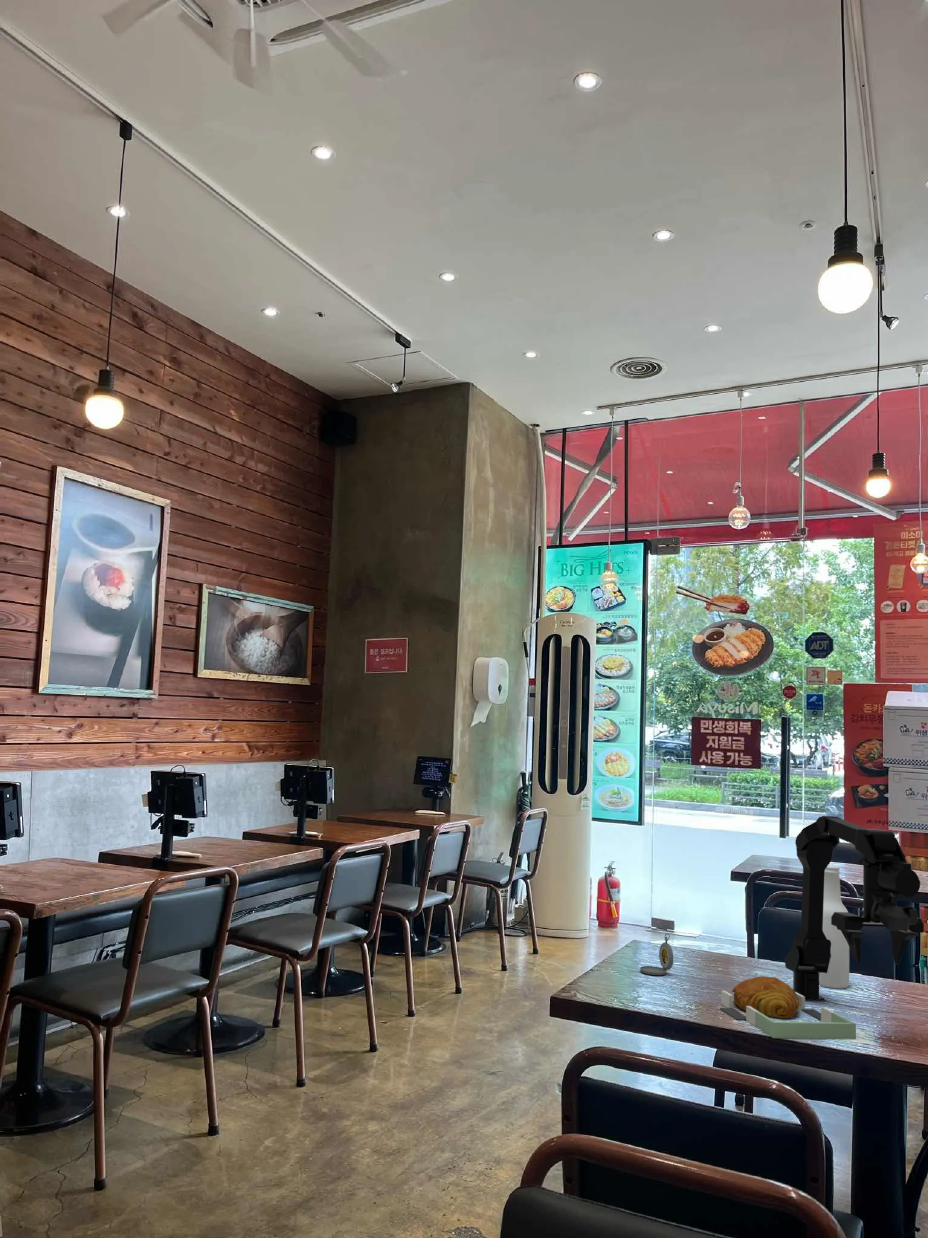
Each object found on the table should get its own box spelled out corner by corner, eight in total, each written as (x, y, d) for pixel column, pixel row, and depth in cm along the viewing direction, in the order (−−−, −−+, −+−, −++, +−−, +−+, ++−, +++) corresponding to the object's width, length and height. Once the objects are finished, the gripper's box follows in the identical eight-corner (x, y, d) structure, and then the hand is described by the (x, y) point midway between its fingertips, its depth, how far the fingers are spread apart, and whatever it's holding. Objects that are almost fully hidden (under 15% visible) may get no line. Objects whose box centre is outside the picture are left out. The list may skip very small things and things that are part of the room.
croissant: (793, 1014, 213) (794, 978, 216) (802, 1023, 199) (803, 985, 201) (729, 1005, 217) (731, 969, 219) (734, 1013, 202) (735, 975, 204)
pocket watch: (635, 972, 235) (636, 932, 237) (652, 967, 241) (653, 929, 243) (663, 979, 230) (664, 938, 231) (679, 974, 236) (681, 934, 237)
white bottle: (850, 991, 229) (851, 869, 233) (813, 986, 232) (814, 866, 236) (847, 983, 238) (848, 865, 242) (811, 978, 240) (813, 862, 244)
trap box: (712, 1004, 210) (712, 990, 210) (804, 1005, 213) (804, 992, 214) (763, 1038, 186) (763, 1022, 187) (865, 1039, 190) (865, 1024, 190)
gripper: (860, 894, 188) (860, 972, 186) (941, 897, 191) (942, 974, 189) (830, 885, 199) (829, 959, 197) (907, 888, 202) (907, 961, 200)
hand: (877, 963), depth 195 cm, fingers open, 9 cm apart
